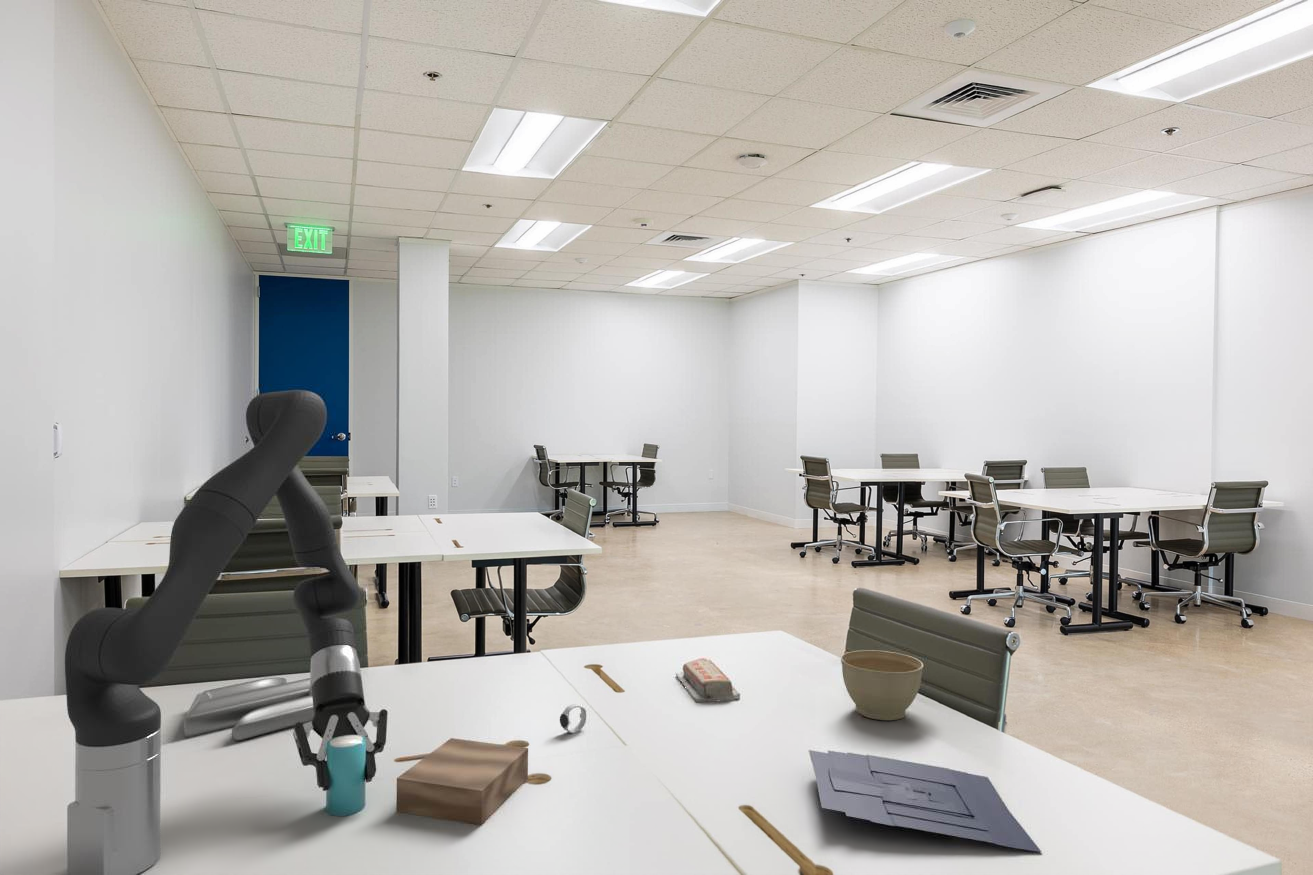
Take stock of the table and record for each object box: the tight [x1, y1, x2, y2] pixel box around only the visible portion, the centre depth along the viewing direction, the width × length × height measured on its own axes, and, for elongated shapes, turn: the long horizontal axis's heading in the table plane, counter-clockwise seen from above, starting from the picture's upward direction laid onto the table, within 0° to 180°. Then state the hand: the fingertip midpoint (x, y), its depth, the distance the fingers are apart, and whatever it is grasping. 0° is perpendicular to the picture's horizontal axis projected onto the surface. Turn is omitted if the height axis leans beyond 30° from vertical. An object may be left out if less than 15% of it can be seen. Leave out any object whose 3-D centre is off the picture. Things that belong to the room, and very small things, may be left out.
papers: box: [808, 749, 1042, 853], centre depth 124 cm, size 24×30×4 cm
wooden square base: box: [395, 737, 529, 826], centre depth 126 cm, size 16×14×5 cm
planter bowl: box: [840, 649, 924, 721], centre depth 164 cm, size 16×16×11 cm
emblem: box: [183, 676, 314, 741], centre depth 158 cm, size 28×5×28 cm
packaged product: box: [675, 657, 741, 703], centre depth 179 cm, size 18×5×10 cm
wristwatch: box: [559, 703, 587, 734], centre depth 152 cm, size 3×5×5 cm, turn 135°
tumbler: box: [325, 734, 366, 817], centre depth 121 cm, size 6×6×10 cm
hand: (348, 783), depth 119 cm, fingers closed on tumbler, 5 cm apart
